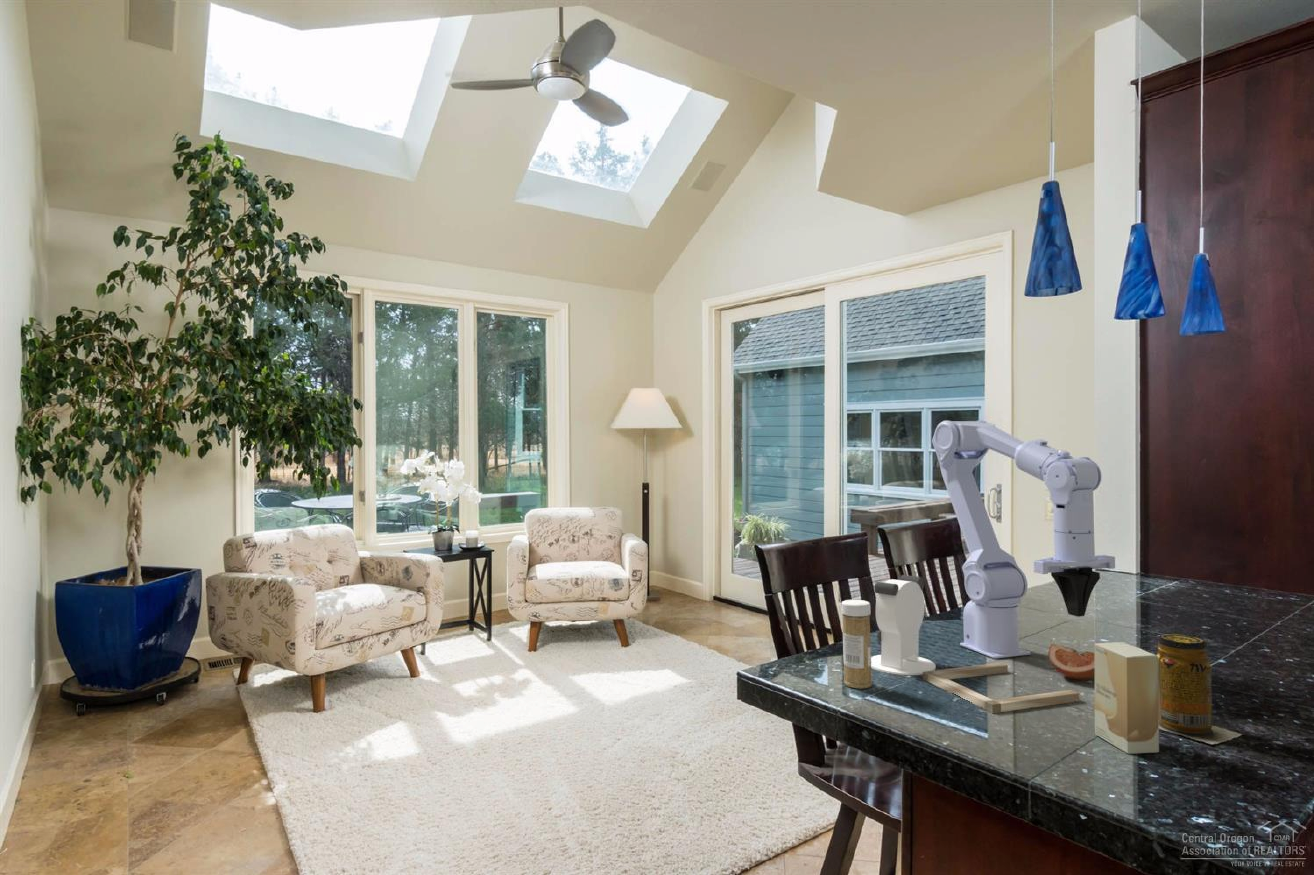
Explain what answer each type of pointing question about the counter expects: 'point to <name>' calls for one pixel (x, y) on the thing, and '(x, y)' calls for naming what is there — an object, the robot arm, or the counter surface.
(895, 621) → the white two-tone upright fixture
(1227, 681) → the counter surface
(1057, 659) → the fruit slice
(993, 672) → the frame
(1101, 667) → the skincare box
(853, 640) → the brown spice jar
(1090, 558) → the robot arm
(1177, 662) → the condiment
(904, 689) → the counter surface
